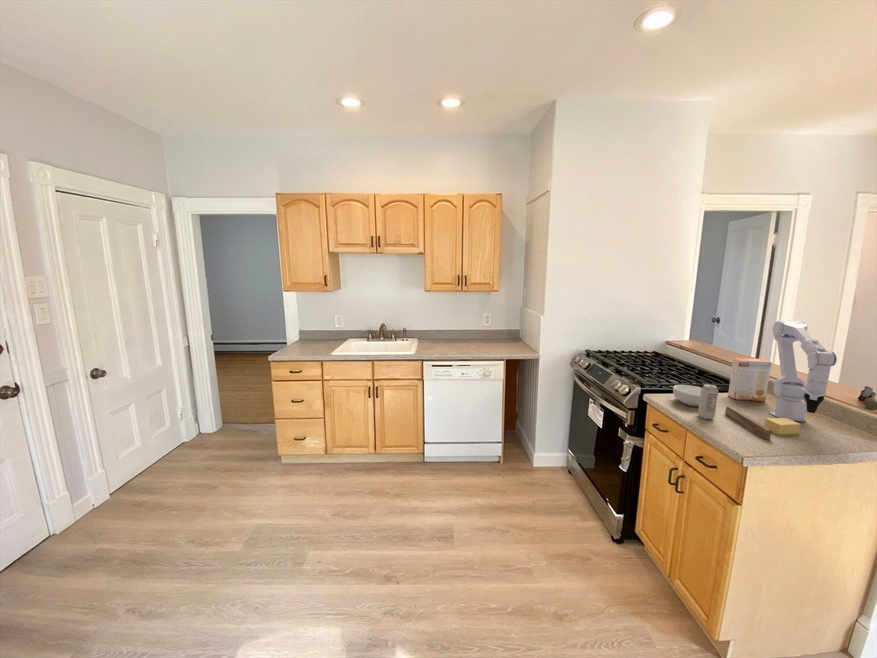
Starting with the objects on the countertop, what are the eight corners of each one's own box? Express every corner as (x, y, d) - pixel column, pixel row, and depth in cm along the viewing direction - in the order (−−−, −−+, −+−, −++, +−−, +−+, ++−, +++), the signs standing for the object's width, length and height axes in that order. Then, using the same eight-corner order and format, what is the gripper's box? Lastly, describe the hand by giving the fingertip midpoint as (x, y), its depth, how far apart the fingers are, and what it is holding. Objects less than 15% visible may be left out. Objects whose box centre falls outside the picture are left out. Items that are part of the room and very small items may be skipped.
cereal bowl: (720, 411, 168) (722, 397, 167) (680, 408, 172) (682, 394, 170) (701, 398, 185) (703, 385, 183) (666, 396, 188) (667, 383, 187)
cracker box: (758, 397, 185) (764, 358, 181) (765, 402, 179) (772, 362, 176) (726, 395, 188) (732, 357, 184) (733, 399, 183) (739, 360, 179)
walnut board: (729, 414, 165) (731, 406, 164) (770, 439, 142) (771, 430, 141) (724, 414, 165) (726, 406, 165) (764, 439, 142) (766, 429, 141)
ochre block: (783, 427, 152) (785, 417, 152) (798, 434, 147) (800, 424, 146) (764, 428, 152) (765, 418, 151) (778, 435, 146) (780, 424, 145)
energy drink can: (707, 414, 165) (711, 383, 162) (717, 420, 159) (722, 388, 156) (694, 414, 165) (698, 383, 162) (704, 420, 159) (708, 388, 156)
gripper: (804, 374, 151) (798, 404, 154) (801, 381, 142) (795, 414, 145) (829, 378, 146) (822, 409, 149) (827, 386, 137) (820, 419, 139)
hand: (810, 412), depth 146 cm, fingers closed
